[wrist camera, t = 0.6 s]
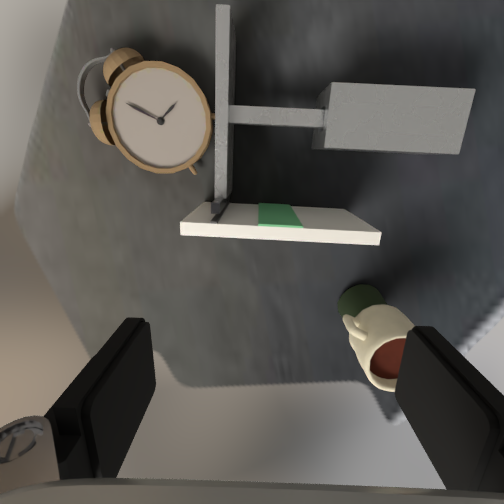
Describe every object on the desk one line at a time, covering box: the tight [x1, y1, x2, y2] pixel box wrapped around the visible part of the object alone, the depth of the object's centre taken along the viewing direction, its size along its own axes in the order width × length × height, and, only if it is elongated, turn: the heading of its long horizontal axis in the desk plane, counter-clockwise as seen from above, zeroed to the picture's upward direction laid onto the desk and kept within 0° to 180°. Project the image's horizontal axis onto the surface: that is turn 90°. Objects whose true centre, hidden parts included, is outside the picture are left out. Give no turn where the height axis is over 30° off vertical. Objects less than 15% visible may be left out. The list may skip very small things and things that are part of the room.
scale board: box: [180, 201, 382, 245], centre depth 32 cm, size 1×18×12 cm, turn 87°
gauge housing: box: [311, 82, 476, 154], centre depth 31 cm, size 6×13×7 cm, turn 87°
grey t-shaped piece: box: [211, 4, 325, 214], centre depth 29 cm, size 17×11×11 cm, turn 177°
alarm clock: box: [77, 48, 215, 175], centre depth 33 cm, size 11×5×15 cm
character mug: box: [338, 284, 414, 392], centre depth 35 cm, size 11×7×13 cm, turn 61°
